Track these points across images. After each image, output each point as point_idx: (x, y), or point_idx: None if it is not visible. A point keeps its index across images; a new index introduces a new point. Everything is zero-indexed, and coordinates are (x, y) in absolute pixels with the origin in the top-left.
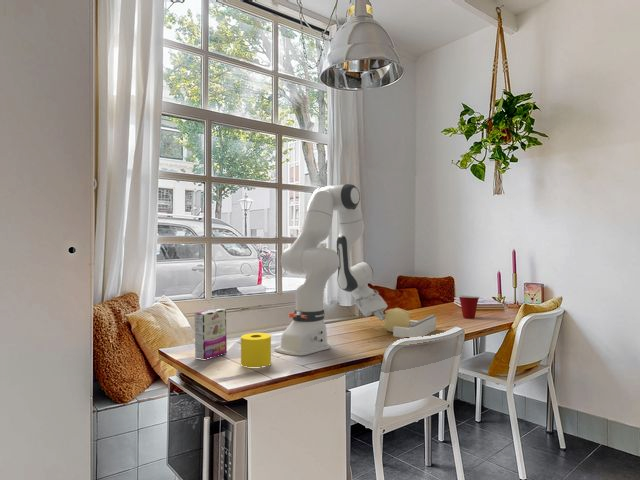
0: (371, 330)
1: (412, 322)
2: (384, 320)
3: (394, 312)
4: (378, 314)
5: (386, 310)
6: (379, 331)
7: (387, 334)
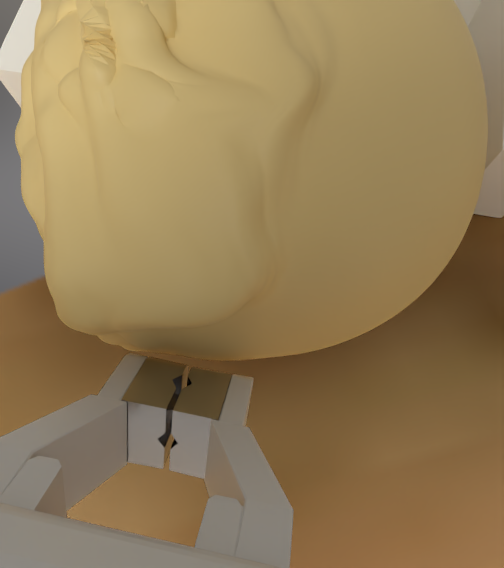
0: (308, 561)
1: None
2: (361, 329)
3: (447, 33)
4: (271, 492)
5: (208, 269)
6: (323, 430)
7: (439, 296)
